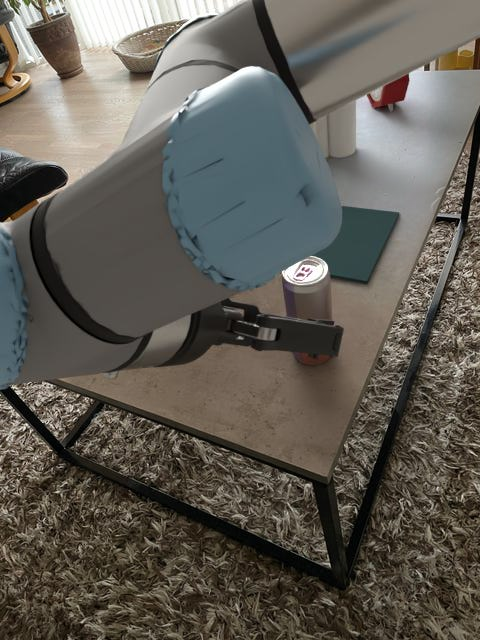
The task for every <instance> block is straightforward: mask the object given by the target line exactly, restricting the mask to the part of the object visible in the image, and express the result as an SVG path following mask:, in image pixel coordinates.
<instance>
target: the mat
mask: <svg viewBox="0 0 480 640" xmlns="http://www.w3.org/2000/svg"><path fill="white" fill-rule="evenodd" d="M341 206H342V224H341V228H340V231H339V233H338V235H337V237H336V238H335V239H334V240H333V242H332V243H331V244H330V245H329V246H327V247H326V248H325V249H323V250H321V251H319V252H317V253H315V254H313V255H311V256H313V257H317V258H320V259H322V260H323V261H324V262H325V263H326V264H327V266H328V270H329V272H330V278H331V279H332V278H333V279H336V280H337V279H338V280H344V281H348V282H355V283H360V284H365V285H366V284H367V285H368V283H369V281H370V279H371V277H372V274H373V272H374V270H375V268H376V266H377V264H378V261H379V260H380V257H381V255H382V253H383V251H384V249H385V247H386V245H387V242H388V240H389V238H390V236H391V235H392V234H391V233H392V232H393V230H394V227H395V225H396V223H397V221H398V219H399V217H400V211H391V210H383V209H373V208H366V207H358V206H357V207H356V206H347V205H341Z"/></svg>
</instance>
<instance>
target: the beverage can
mask: <svg viewBox="0 0 480 640" xmlns="http://www.w3.org/2000/svg"><path fill="white" fill-rule="evenodd" d="M281 274H282V275H281V285H282V292H283V299H284V306H285V313H286V317H292V318H297V319H303V320H308V318H311V319H325V320H331V321H334V320H333V301H332V300H333V299H332V286H331V284H332V282H331V281H332V280H331V277H330V272H329V270H328V266H327V264H326V263H325V262H324V261H323V260H322V259H320V258H317V257H313V256H310V257H308V258H306V259H304V260H302V261H300V262H298V263H297V264H295V265H293V266H291V267H289V268H287V269H285V270H284V271H282V272H281ZM291 353H292V356H293V357H294V359H296V360H297V361H299V362H300V363H301V364H304V365H306V366H307V365H309V366H316V365H321V364H323V363H325V362H327V361H329V359H330V358H331V357H330V356H328V355H319V359H318V360H317V359H313V358H311V357H308V355H309V354H308V353H298V352H291Z"/></svg>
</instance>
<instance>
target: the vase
mask: <svg viewBox="0 0 480 640" xmlns="http://www.w3.org/2000/svg"><path fill="white" fill-rule="evenodd" d="M310 127H311V129H312V131H313V133H314V135H315V137H316V139H317V141H318V143H319V145H320V147H321V150H322V152H323V154H324V156H325V159H327V158H329V157H332V158H339V159H340V158H346V157H349V156H352V155H353V154H354V153H356V151H357V100H355V101H353V102H351V103H349V104H347V105H345V106H343V107H341V108H339V109H337V110H335V111H333V112H331V113H329V114H327V115H325V116H323V117H321V118H319V119H318V120H317V121H315V122H313V123H312V124H310Z"/></svg>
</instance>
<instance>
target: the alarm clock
mask: <svg viewBox="0 0 480 640" xmlns="http://www.w3.org/2000/svg"><path fill="white" fill-rule="evenodd" d="M410 82H411V81H410V73H408V74H406V75H405V76H403V77H401V78H399V79H397V80H395V81H393V82H391V83H389V84H387V85H385V86H383V87H381V88H379V89H377V90H375V91H373V92H371V93H369V94H367V95H366V97H367V100H368V101H369V103H370V106H371V108H379V107H383V106H387V108H388V110H389V112H390V113H392V112H394V104H396V103H399V102H404V101H405V98H406V95H407V91H408V88H409V84H410Z"/></svg>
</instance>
